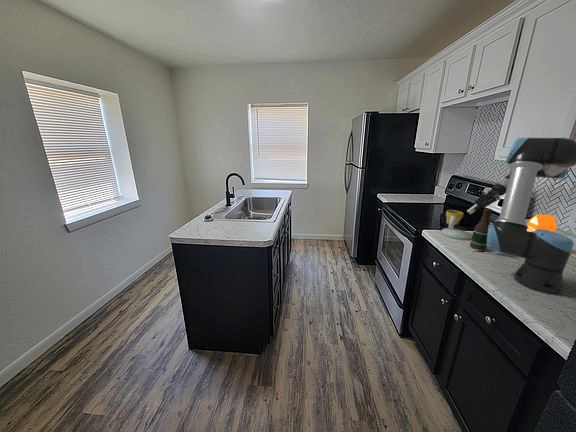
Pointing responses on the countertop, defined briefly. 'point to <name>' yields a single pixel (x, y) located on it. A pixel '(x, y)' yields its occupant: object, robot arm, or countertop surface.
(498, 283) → the countertop surface
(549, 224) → the orange juice
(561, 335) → the countertop surface
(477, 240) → the beer bottle
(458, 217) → the plant pot
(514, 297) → the countertop surface
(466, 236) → the capstan dial
